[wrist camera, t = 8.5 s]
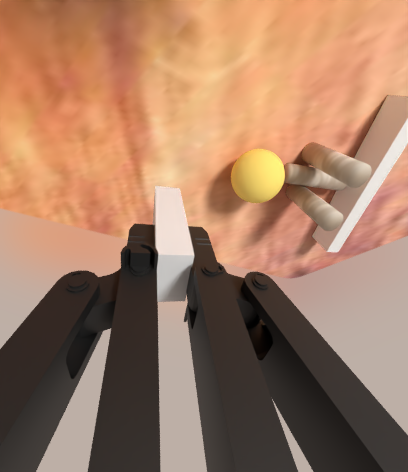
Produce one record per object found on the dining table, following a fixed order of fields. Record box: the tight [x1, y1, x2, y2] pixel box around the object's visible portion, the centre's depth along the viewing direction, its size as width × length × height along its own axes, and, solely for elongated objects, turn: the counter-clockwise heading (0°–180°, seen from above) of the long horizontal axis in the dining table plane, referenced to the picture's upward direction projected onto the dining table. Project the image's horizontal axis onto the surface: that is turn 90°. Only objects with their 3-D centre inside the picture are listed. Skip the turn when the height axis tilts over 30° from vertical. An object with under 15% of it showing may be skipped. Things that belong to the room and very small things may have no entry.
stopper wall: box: [312, 95, 408, 252], centre depth 30 cm, size 20×2×4 cm, turn 169°
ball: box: [231, 149, 285, 203], centre depth 26 cm, size 6×6×6 cm
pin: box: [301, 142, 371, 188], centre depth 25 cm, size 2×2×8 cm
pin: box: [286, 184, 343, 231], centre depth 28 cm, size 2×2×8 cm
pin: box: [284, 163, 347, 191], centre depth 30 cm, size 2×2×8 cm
